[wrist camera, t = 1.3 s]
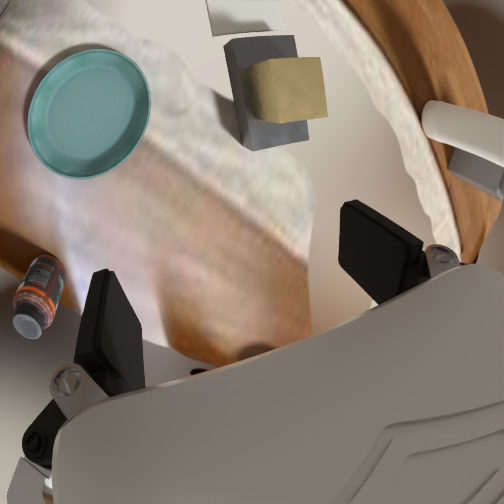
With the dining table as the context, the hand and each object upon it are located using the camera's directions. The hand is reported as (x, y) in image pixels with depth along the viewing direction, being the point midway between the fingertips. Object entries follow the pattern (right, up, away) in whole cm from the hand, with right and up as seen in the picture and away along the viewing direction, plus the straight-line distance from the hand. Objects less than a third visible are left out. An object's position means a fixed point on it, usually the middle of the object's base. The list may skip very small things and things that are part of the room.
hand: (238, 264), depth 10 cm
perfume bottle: (+47, +21, +36) cm, 63 cm away
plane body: (+2, +20, +18) cm, 27 cm away
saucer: (-18, +16, +13) cm, 27 cm away
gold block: (+3, +18, +15) cm, 23 cm away
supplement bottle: (-28, -2, +20) cm, 34 cm away
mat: (0, +30, +11) cm, 32 cm away
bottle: (+34, +25, +28) cm, 51 cm away
